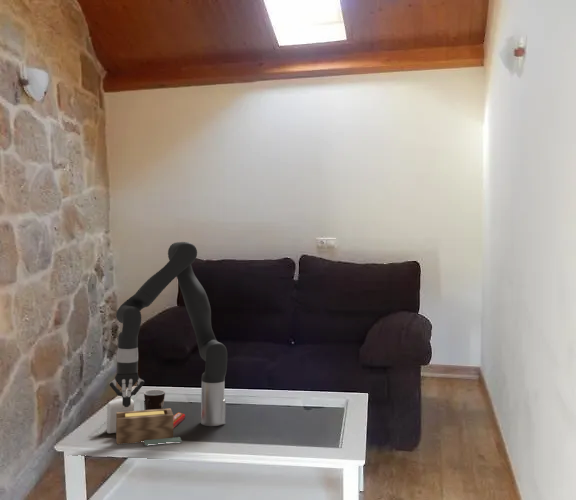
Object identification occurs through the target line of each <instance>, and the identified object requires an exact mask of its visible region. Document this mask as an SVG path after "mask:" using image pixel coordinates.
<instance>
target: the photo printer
mask: <svg viewBox="0 0 576 500" xmlns="http://www.w3.org/2000/svg"><path fill="white" fill-rule="evenodd" d="M122 401H123V397H121V398H116V399H112V400H111V401H109V402H108V403H107V408H106V414H107V415H106V433H107V434H116V412H126V411H135V403H134V402H135V401H134V400H133V399H132V398H131V404H130V405H129V407H124V406H123V404H122Z"/></svg>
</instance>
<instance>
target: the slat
mask: <svg viewBox="0 0 576 500" xmlns="http://www.w3.org/2000/svg"><path fill="white" fill-rule="evenodd" d="M163 414H164V411H153V412H139V413H126V414H125V417H137V416H150V415H163Z"/></svg>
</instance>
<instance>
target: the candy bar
mask: <svg viewBox="0 0 576 500" xmlns="http://www.w3.org/2000/svg"><path fill="white" fill-rule="evenodd" d="M173 415H174V417H173V429H174V428H176V427H177V426H178V425H179V424H181V422H183V421H184V420H185V417H186V414H185V413H182V412H177V413H175V414H173Z"/></svg>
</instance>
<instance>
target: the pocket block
mask: <svg viewBox="0 0 576 500" xmlns="http://www.w3.org/2000/svg"><path fill="white" fill-rule="evenodd" d="M153 411H164V414H163V415H150V416H137V417H125V414H126V413H139V412H153ZM174 415H175V414H174V413H173V411H172V408H171V407H170V408H163V409H154V410H146V409H144V410H143V409H141V410H134V411H126V412H116V433H115V435H116V437H115V438H116V440H115V441H116V445H124V444H123V443H127V444H134V443H135V442H138V443H142V442H141V441H144V440H152V439H164V438H174V428H173V417H174ZM135 444H136V443H135Z"/></svg>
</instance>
